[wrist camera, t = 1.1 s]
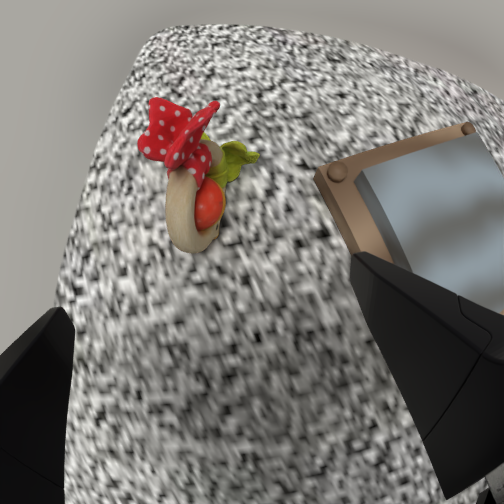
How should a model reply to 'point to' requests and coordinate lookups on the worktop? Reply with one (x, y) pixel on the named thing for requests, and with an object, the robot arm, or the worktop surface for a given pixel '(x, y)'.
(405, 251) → the wooden toy tray
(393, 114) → the worktop surface
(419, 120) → the worktop surface
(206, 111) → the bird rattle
